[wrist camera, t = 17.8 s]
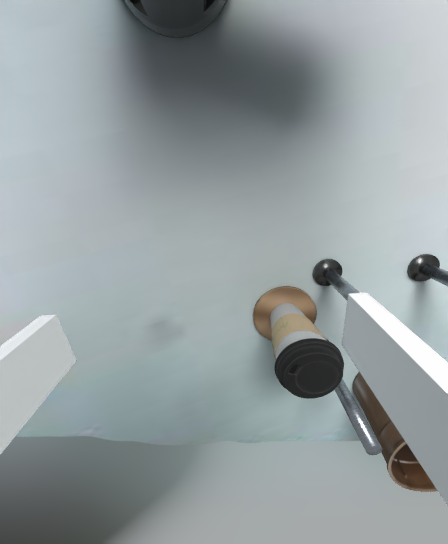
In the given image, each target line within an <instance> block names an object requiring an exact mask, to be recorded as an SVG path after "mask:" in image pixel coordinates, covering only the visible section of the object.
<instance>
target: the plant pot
mask: <svg viewBox="0 0 448 544" xmlns="http://www.w3.org/2000/svg"><path fill="white" fill-rule="evenodd" d="M353 390H354V393H355V395H356V397H357V399H358V401H359V403H360V405H361V407H362V409H363V411H364V413H365V415H366V417H367V419H368V421H369V423H370V425H371V427H372V429H373V431H374V434H375V436H376V438H377V440H378V442H379V443H380V445H381V447H382V451H381V452H382V454H383V456H384V458H385V460H386V463H387V470H388V472H389V475H390V477H391V478H392V480H393V481H394V482H395V483H397V484H398V485H400V486H402V487H404V488H406V489H409V490H414V491H421V492H429V491H430V492H431V491H438V490H437V489H436V487H435V486H434V484H433V483H432V481H431V480H430V478H429V477H428V475H427V474H426V472H425V471H424V469H423V468H422V466H421V464H420V463H419V461H418V460H417V458H416V457H415V455H414V454H413V452H412V451H411V449H410V448H409V446H408V445H407V443H406V442H405V440H404V439H403V437H402V436H401V434H400V433H399V431H398V430H397V428H396V427H395V425H394V423H393V422H392V420H391V419H390V417H389V416H388V414H387V413H386V411H385V410H384V408H383V407H382V405H381V404H380V402H379V401H378V399H377V398H376V396H375V395H374V393H373V392H372V390H371V389H370V387H369V386H368V384H367V382H366V381H365V379H364V378H363V376H362V375H361V373H359V374H358V375H357V376H356V378H355V380H354V383H353Z"/></svg>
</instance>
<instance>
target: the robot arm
mask: <svg viewBox="0 0 448 544" xmlns="http://www.w3.org/2000/svg"><path fill="white" fill-rule="evenodd" d="M125 2H126V4H127V5H128V7H129V8H130V10H131V11H132V13H133V14H134V15H135V16H136V17H137V18H138V19H139V20H140V21H141V22H142V23H143V24H144V25H145V26H147V27H148V28H150V29H151V30H153V31H155V32H157V33H159V34H161V35H164V36H168V37H186V36H190V35H193V34H195V33H198V32H199V31H201V30H203V29H204V28H205V27H207V26H208V25H209V24H210V23H211V22H212V21H213V20H214V19H215V18H216V17H217V15H218V14H219V12H220V11H221V9H222V8H223V6H224V4H225V2H226V0H125ZM342 346H343V348H344V349H345V351H346V352H347V354H348V355H349V357H350V358H351V360H352V361H353V363H354V364H355V366H356V367H357V369H358V370H359V372H360V373H361V375H362V376H363V378H364V379H365V381H366V382H367V384H368V386H369V387H370V389H371V390H372V392H373V393H374V395H375V396H376V398H377V399H378V401H379V402H380V404H381V405H382V407H383V408H384V410H385V411H386V413H387V414H388V416H389V417H390V419H391V420H392V422H393V423H394V425H395V427H396V428H397V430H398V431H399V433H400V434H401V436H402V437H403V439H404V440H405V442H406V443H407V445H408V446H409V448H410V449H411V451H412V452H413V454H414V455H415V457H416V458H417V460H418V461H419V463H420V464H421V466H422V468H423V469H424V471H425V472H426V474H427V475H428V477H429V478H430V480H431V481H432V483H433V484H434V486H435V487H436V489H437V490H438V492H439V493H440V495H441V496H442V498H443V499H444V501H445V502H446V504H447V505H448V362H446V361H445V360H444V359H443V358H442V357H441V356H439V355H438V354H437V353H436V352H435V351H434V350H433V349H431V348H430V347H429V346H428V345H427V344H426V343H424V342H423V341H422V340H421V339H420V338H419V337H418V336H416V335H415V334H414V333H413V332H412V331H411V330H409V329H408V328H407V327H406V326H405V325H404V324H402V323H401V322H400V321H399V320H398V319H397V318H396V317H394V316H393V315H392V314H391V313H390V312H389V311H387V310H386V309H385V308H384V307H383V306H382V305H380V304H379V303H378V302H377V301H376V300H375V299H374V298H372V297H371V296H370V295H369V294H368V293H367V292H366V293H352V294H348V300H347V308H346V315H345V323H344V331H343V339H342ZM76 361H77V360H76V358H75V356H74V353H73V351H72V349H71V347H70V344H69V342H68V340H67V337H66V335H65V333H64V330H63V328H62V326H61V324H60V321H59V319H58V317H57V315H43V316H40V317H38V318H37V319H36V320H34V321H33V322H32V323H30V324H29V325H28V326H26V327H25V328H24V329H22V330H21V331H20V332H18V333H17V334H16V335H14V336H13V337H12V338H10V339H9V340H8V341H6V342H5V343H4V344H2V345H1V346H0V454H1V453H2V452H3V451H4V449H5V448H6V447H7V446H8V444H9V443H10V442H11V441H12V440H13V438H14V437H15V436H16V435H17V433H18V432H19V431H20V430H21V429H22V427H23V426H24V425H25V424H26V422H27V421H28V420H29V419H30V417H31V416H32V415H33V414H34V413H35V411H36V410H37V409H38V408H39V406H40V405H41V404H42V403H43V401H44V400H45V399H46V398H47V397H48V395H49V394H50V393H51V392H52V390H53V389H54V388H55V387H56V385H57V384H58V383H59V382H60V381H61V379H62V378H63V377H64V376H65V374H66V373H67V372H68V371H69V369H70V368H71V367H72V366H73V365H74V363H75V362H76Z"/></svg>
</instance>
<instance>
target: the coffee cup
mask: <svg viewBox="0 0 448 544" xmlns="http://www.w3.org/2000/svg"><path fill="white" fill-rule="evenodd" d="M270 321H271V328H272V341H273V348H274V355H275V359H276V362H275V374H276V376H277V378H278V380H279V382H280V383H281V385H282V386H283V387H284V388H286V389H287V390H288V391H290V392H291V393H292V394H294V395H296V396H298V397H301V398H318V397H322V396H324V395H327V394H329V393H330V392H332V391H333V390H334V389H335V388H336V387H337V386H338V385H339V384H340V382H341V380H342V377H343V369H344V362H343V358H342V355H341V353H340V351H339V349H338V348H337V347H336V346H335V345H334V344H332V343H331V342H329V341H327V340H326V338H325V337H324V336H323V335H322V334H321V333H320V331H319V330H318V329H317V328H316V327H315V325H314V324H313V323H312V322H311V321H310V320H309V319H308V318H307V317H306V316H305V315H304V314H303V313H302V312H301V310H300V309H299V308H298V307H297V306H295V305H293V304H290V303H282V304H279V305H277V306H276V307H275V308H274V309H273V311H272V313H271V316H270Z"/></svg>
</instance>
